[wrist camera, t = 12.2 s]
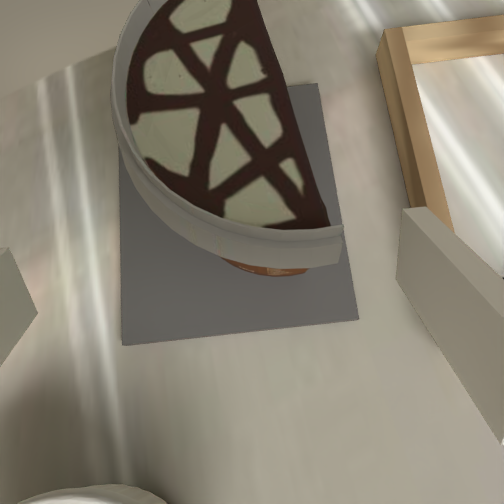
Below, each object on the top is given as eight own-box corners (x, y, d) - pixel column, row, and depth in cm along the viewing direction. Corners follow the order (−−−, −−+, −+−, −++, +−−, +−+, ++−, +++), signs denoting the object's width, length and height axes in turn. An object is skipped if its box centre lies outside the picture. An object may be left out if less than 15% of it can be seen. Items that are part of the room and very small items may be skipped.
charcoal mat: (316, 89, 24) (317, 83, 24) (356, 320, 21) (359, 318, 20) (121, 113, 25) (118, 107, 24) (125, 345, 21) (121, 345, 20)
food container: (151, 125, 24) (70, -39, 14) (253, 100, 24) (241, -80, 14) (195, 331, 20) (127, 302, 11) (312, 300, 20) (350, 244, 11)
